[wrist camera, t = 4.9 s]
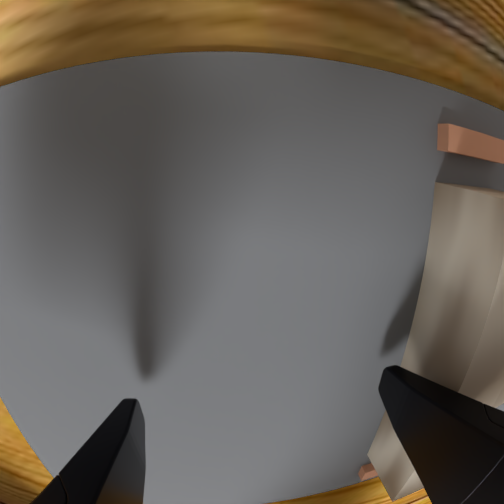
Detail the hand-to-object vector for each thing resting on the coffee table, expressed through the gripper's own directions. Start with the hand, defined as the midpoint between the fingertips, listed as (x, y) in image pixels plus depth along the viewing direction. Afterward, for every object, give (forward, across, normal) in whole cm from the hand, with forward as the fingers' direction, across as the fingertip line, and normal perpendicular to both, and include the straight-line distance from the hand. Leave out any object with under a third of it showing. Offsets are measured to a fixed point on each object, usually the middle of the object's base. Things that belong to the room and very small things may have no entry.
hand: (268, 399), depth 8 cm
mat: (+1, -4, 0) cm, 4 cm away
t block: (+1, -11, 0) cm, 11 cm away
